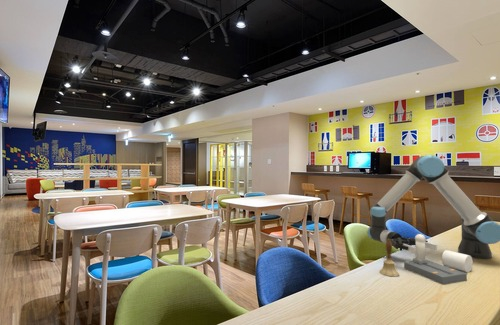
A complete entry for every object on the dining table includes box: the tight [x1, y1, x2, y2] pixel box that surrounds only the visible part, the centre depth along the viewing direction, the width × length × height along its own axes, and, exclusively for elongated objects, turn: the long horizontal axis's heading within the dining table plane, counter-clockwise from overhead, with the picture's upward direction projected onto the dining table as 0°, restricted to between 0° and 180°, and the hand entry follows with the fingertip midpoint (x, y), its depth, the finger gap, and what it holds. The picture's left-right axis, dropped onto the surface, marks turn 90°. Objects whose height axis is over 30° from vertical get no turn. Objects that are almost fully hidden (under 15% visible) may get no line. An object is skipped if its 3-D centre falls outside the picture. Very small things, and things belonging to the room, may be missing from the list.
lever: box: [412, 233, 429, 264], centre depth 139 cm, size 5×5×14 cm
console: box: [403, 259, 468, 285], centre depth 132 cm, size 14×20×3 cm
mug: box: [441, 249, 474, 273], centre depth 139 cm, size 12×10×8 cm
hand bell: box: [379, 239, 400, 278], centre depth 133 cm, size 8×8×16 cm
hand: (426, 249), depth 136 cm, fingers open, 13 cm apart
